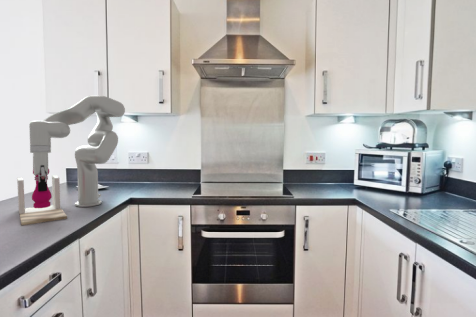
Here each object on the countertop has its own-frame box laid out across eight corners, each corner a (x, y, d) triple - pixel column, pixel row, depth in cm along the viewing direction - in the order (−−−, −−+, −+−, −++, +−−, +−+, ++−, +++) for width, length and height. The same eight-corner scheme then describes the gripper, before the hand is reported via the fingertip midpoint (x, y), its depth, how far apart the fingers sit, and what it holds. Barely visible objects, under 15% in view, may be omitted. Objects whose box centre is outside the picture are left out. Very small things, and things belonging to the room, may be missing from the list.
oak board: (19, 216, 126) (19, 213, 125) (61, 210, 136) (61, 208, 136) (21, 225, 113) (21, 222, 113) (67, 218, 124) (67, 215, 124)
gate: (18, 210, 135) (17, 177, 134) (57, 205, 146) (56, 175, 144) (19, 214, 128) (18, 180, 127) (60, 209, 138) (59, 177, 137)
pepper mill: (29, 209, 120) (27, 162, 118) (36, 205, 127) (35, 161, 125) (48, 208, 121) (47, 162, 120) (54, 204, 128) (53, 161, 127)
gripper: (28, 148, 126) (30, 188, 128) (31, 150, 113) (33, 194, 115) (48, 148, 131) (49, 186, 132) (53, 150, 118) (54, 192, 119)
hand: (41, 189), depth 124 cm, fingers closed on pepper mill, 5 cm apart
